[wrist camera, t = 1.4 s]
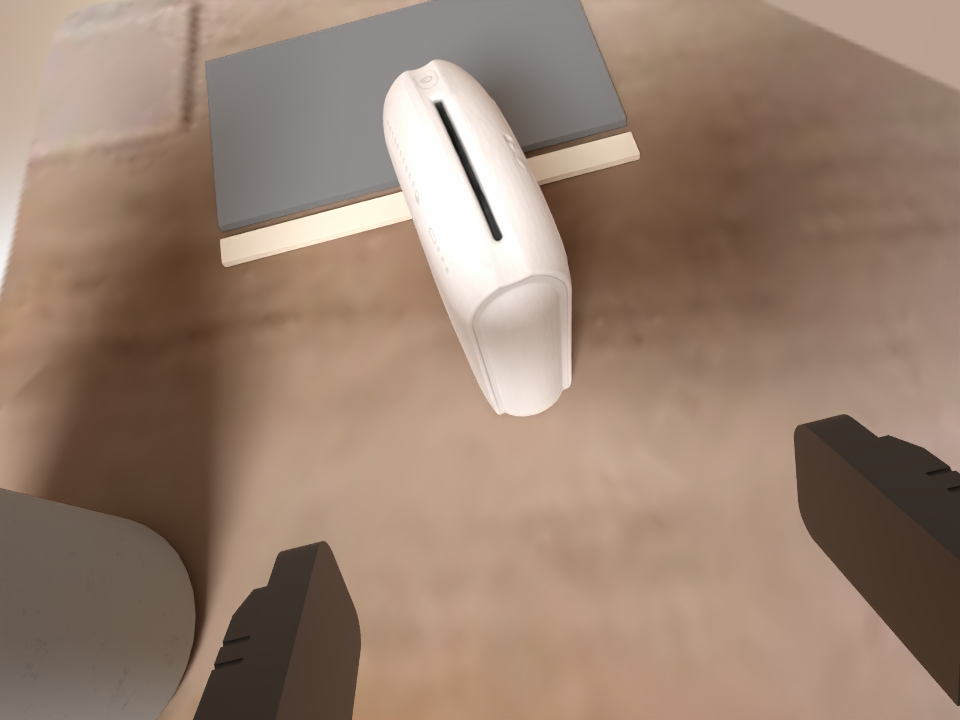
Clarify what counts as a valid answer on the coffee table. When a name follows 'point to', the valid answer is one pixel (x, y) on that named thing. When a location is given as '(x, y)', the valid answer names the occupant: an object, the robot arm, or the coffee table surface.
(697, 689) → the coffee table surface
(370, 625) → the coffee table surface
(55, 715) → the water bottle
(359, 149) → the mat
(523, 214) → the photo printer
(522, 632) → the coffee table surface
